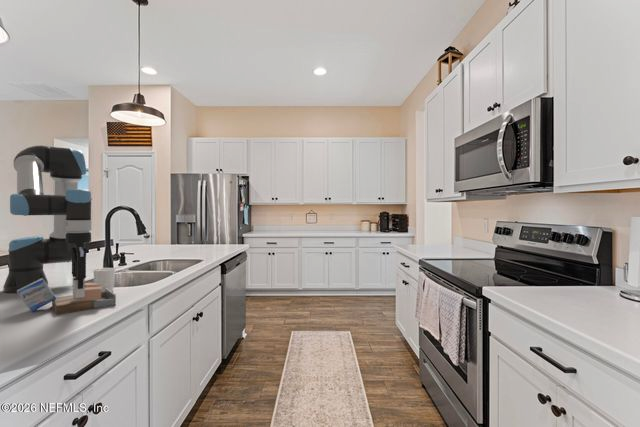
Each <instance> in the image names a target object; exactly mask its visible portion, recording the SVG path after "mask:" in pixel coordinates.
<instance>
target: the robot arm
mask: <svg viewBox="0 0 640 427" xmlns="http://www.w3.org/2000/svg"><path fill="white" fill-rule="evenodd" d="M85 160H86V158H85V156H84V153H83V151H82V150H80V149H75V148H70V147H68V148H67V147H58V146H48V145H32V146H29V147H26V148H25V149H23V150H21V151H19V153H17V154H16V155H15V156H14V159H13V169H14V170H15V171H16V193H13V194H10V196H9V213H10V214H11V215H13V216H25V217H27V216H53V231H52V232H51V233H49V236H48V237H49V238H44V236H43V235H36V236H27V237H26V236H25V237H20V238H15V239H12V240H10V242H9V243H8V250H7V252H8V274H7V277H6V279H5V282H4V285H3V287H2V288H3V289H2V290H3V292H4V293H17V290H18V289H21V288H23V287H25V286H27V285H29V284H31V283H33V282H35V281H37V280H39V279H41V278H43V279H44V281H45V282H46V283H47V285H48V286H49V281H48V278H47V275H46V274H45V272H44V265H45V264H46V265H47V264H59V263H60V264H61V263H71V276H72V295H73V296H74V295H75V298H81V297H85V283H86V282H85V281H86V280H85V279H86V278H87V247H85V244H89V243H91V242H92V233H91V231H92V200H93V199H92V192H91V191H90V190H89V189H82V188H81V189H78V184H79V181H81V180H82V178H83V176H85V175H87V164H86V161H85ZM42 173H47V174H48V173H50V175H49V176H50V178H51V179H52V180H53V181H54V184H53V189H54V190H53V194H44V183H43V175H42Z"/></svg>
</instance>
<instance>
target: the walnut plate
mask: <svg viewBox="0 0 640 427" xmlns="http://www.w3.org/2000/svg"><path fill="white" fill-rule="evenodd" d="M51 306H52V309H53V311H54V312H55V314H56V315H63V314H64V315H65V314H69V313H74V312H81V311H85V310H92V309H93V300H91V301H81V298H75V295H74V296H73V294H72V295H66V296H59V297H56V299H55V300H53V301H51Z"/></svg>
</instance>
